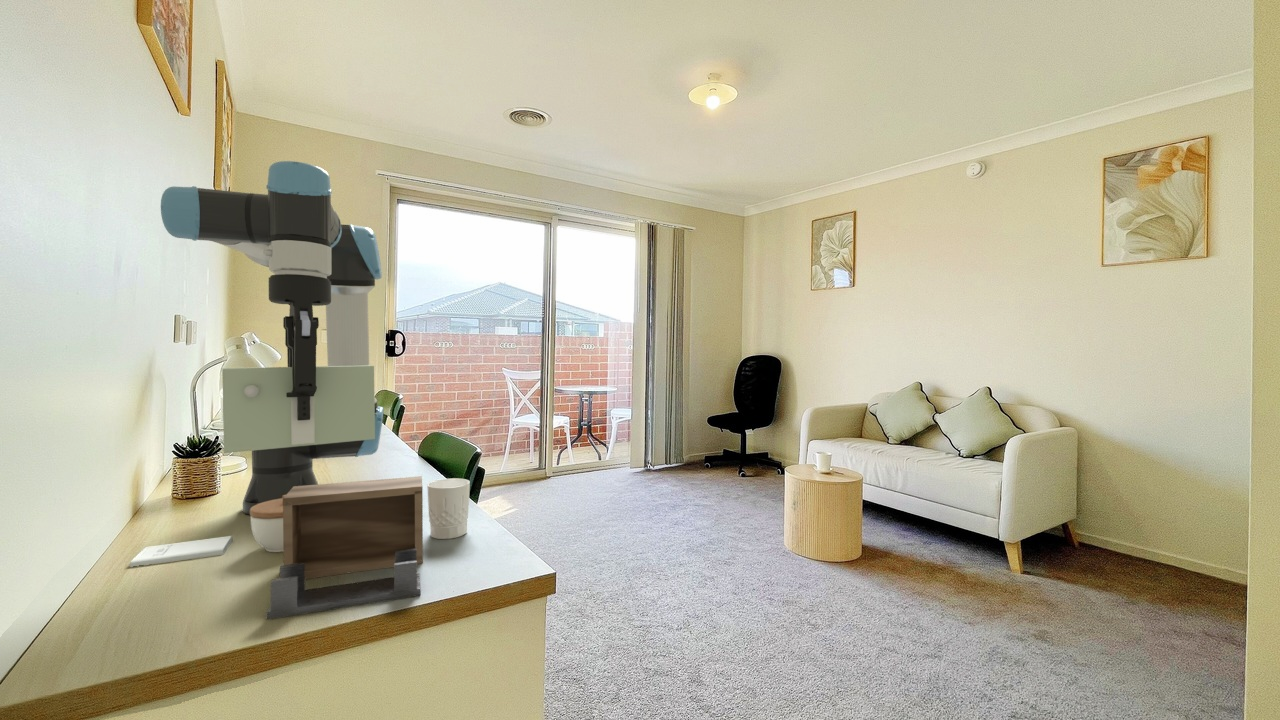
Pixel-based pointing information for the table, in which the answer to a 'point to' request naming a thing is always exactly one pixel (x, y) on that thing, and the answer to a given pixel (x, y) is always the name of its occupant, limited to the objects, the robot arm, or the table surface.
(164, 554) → the external hard drive
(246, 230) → the robot arm
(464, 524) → the white cup
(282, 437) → the door panel
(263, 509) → the lidded jar
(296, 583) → the clip rail
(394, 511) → the cabinet
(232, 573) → the table surface
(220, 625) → the table surface
